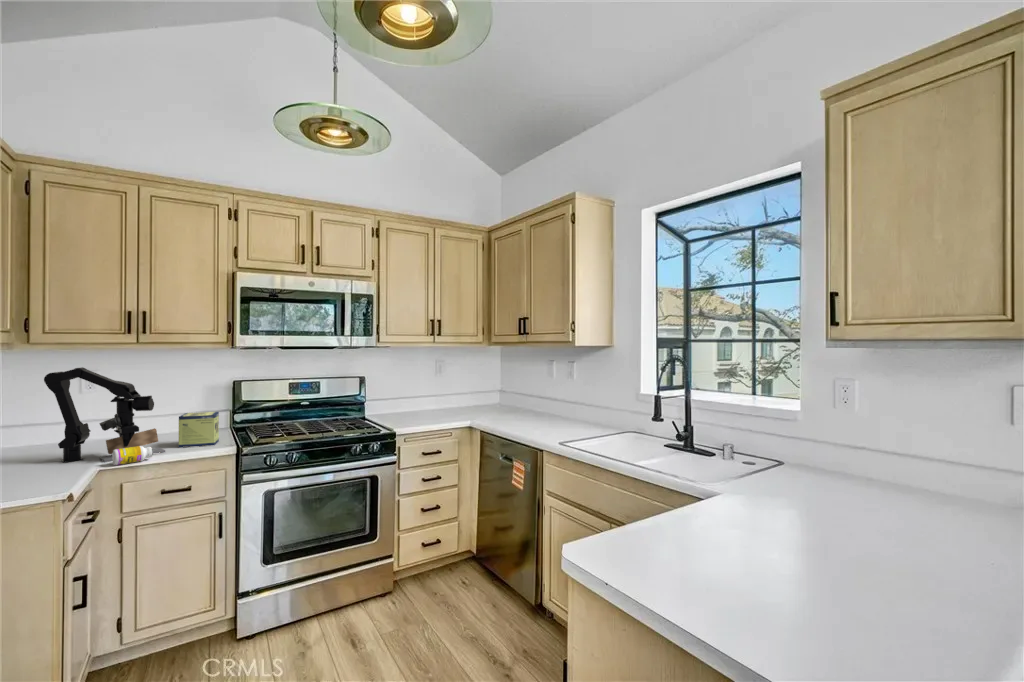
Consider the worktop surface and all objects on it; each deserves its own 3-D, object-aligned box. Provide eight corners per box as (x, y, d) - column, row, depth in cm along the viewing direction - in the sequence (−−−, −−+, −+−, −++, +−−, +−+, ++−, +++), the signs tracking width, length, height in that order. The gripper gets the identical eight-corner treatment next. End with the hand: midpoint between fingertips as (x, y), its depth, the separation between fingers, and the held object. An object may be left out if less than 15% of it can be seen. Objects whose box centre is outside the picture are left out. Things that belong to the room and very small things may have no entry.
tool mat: (99, 459, 208) (99, 456, 208) (159, 449, 226) (159, 447, 226) (104, 462, 204) (104, 459, 203) (165, 452, 221) (165, 450, 221)
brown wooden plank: (109, 454, 207) (107, 441, 206) (108, 453, 209) (105, 440, 208) (158, 441, 221) (156, 429, 220) (156, 440, 222) (154, 428, 222)
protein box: (215, 445, 235) (215, 414, 235) (177, 448, 229) (177, 416, 229) (219, 441, 245) (219, 411, 245) (183, 443, 239) (183, 412, 239)
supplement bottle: (116, 458, 196) (153, 452, 206) (113, 446, 199) (150, 441, 209) (113, 468, 199) (151, 462, 208) (111, 456, 202) (148, 450, 212)
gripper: (96, 411, 211) (96, 446, 212) (106, 416, 200) (107, 452, 200) (127, 408, 220) (127, 441, 220) (139, 412, 209) (139, 448, 209)
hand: (124, 446), depth 212 cm, fingers closed on brown wooden plank, 2 cm apart
